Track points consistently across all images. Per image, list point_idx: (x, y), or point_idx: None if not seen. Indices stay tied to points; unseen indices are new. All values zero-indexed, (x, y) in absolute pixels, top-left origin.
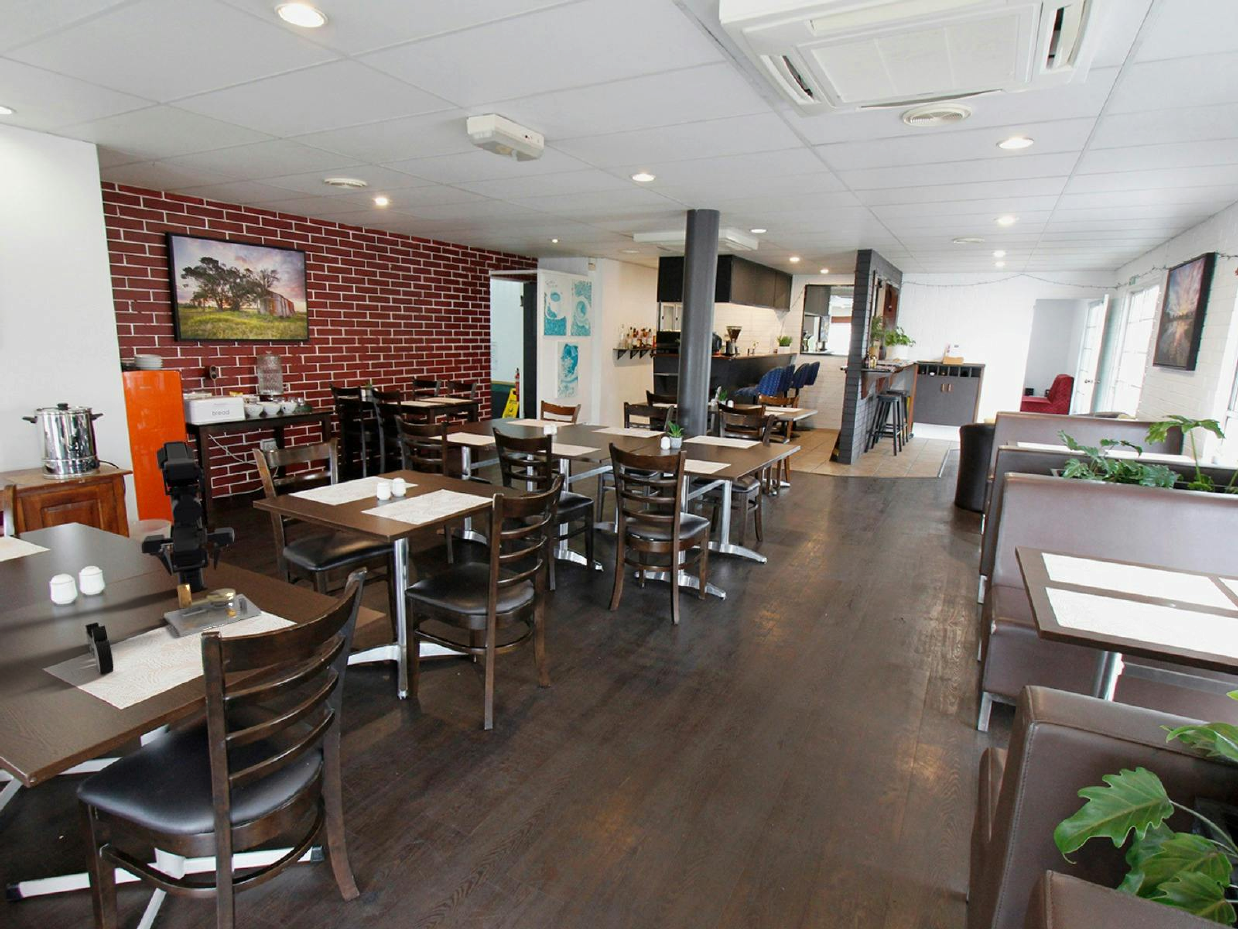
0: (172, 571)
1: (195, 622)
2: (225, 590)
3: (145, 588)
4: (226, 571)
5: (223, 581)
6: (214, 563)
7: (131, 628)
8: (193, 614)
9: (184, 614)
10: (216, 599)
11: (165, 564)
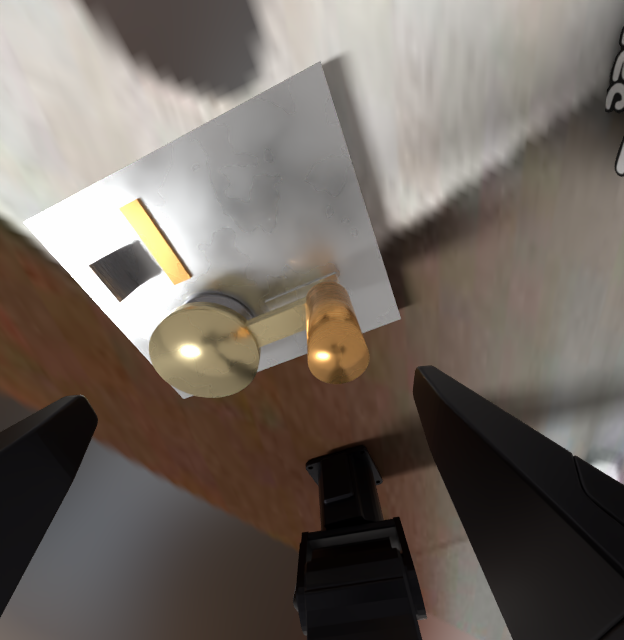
0: (420, 415)
1: (274, 181)
2: (197, 380)
3: (445, 492)
4: (284, 530)
5: (277, 490)
6: (2, 447)
7: (492, 257)
8: (300, 274)
9: (331, 280)
10: (207, 309)
11: (555, 461)
